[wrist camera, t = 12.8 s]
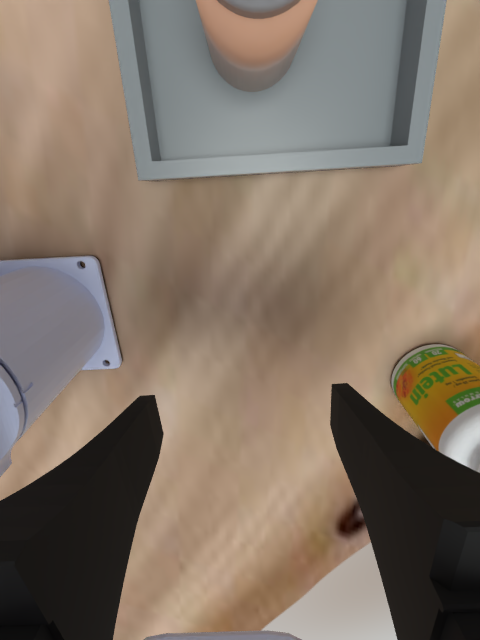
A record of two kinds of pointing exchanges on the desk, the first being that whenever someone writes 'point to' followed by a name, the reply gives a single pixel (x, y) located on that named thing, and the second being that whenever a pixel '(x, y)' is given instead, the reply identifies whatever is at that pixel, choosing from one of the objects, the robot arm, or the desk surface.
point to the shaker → (254, 38)
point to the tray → (279, 92)
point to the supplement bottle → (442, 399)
